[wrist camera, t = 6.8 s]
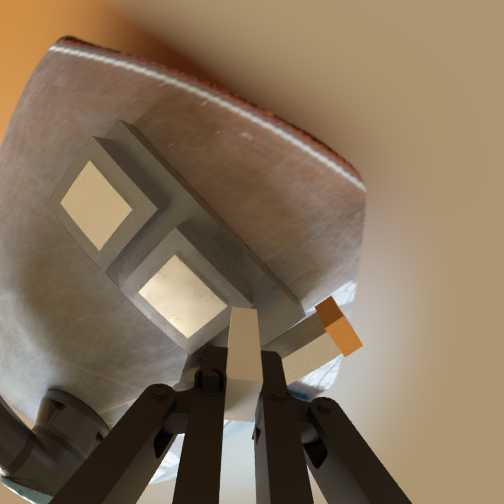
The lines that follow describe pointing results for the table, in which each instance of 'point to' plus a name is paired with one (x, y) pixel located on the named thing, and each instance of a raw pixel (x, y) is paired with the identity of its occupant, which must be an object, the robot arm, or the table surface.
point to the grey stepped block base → (166, 246)
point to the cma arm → (309, 343)
